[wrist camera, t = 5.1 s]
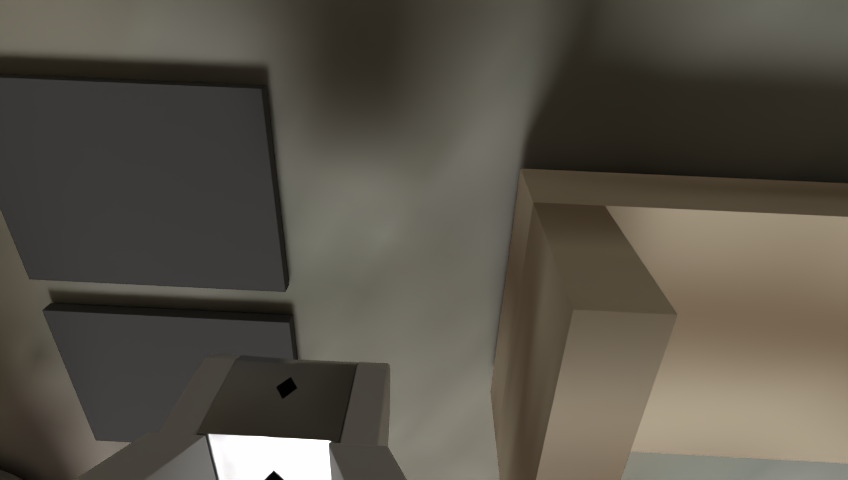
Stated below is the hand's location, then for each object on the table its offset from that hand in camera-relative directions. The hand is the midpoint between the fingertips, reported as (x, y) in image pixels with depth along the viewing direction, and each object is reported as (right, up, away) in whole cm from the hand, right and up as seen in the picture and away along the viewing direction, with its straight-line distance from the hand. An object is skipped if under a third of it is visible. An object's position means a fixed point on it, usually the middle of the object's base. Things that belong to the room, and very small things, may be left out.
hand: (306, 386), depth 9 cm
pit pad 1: (-4, +4, +2) cm, 6 cm away
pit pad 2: (-4, -1, +5) cm, 7 cm away
